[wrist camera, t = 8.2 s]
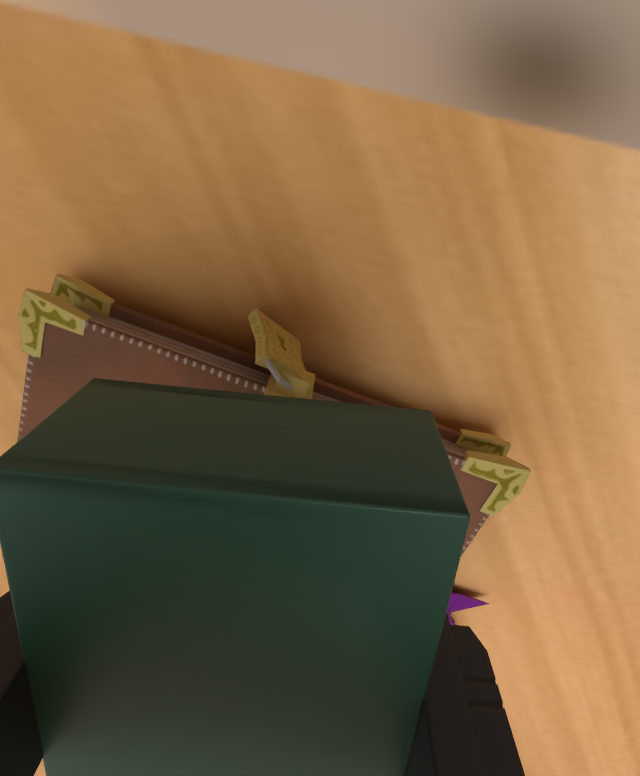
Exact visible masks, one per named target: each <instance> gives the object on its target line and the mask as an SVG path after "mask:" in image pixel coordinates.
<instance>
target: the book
mask: <svg viewBox="0 0 640 776" xmlns="http://www.w3.org/2000/svg"><path fill="white" fill-rule="evenodd" d="M248 319H249V322H250V325H251V329H252V332H253V335H254V338H255V341H256V355H253V354H250V353H248V352H245V351H242V350H240V349H237V348H234V347H231V346H229V345H226V344H223V343H221V342H218V341H215V340H213V339H210V338H207V337H205V336H202V335H199V334H196V333H194V332H191V331H188V330H186V329H183V328H180V327H178V326H175V325H172V324H170V323H167V322H164V321H162V320H159V319H156V318H153V317H151V316H148V315H145V314H143V313H140V312H137V311H135V310H132V309H129V308H127V307H124V306H121V305H119V304H116V303H115V300H114V299H112V298H111V297H109V296H107V295H106V294H104V293H102V292H101V291H99V290H98V289H96V288H94V287H93V286H91V285H89V284H88V283H86V282H85V281H82V280H78V279H75V278H71V277H67V276H64V275H60V274H57V275H56V276H55V279H54V283H53V287H52V290H51V294H49V293H45V292H41V291H37V290H33V289H29V288H28V289H26V290H25V293H24V296H23V300H22V304H21V307H20V311H19V322H20V332H21V342H22V352H24V353H27V354H29V357H28V365H27V372H26V380H25V388H24V395H23V403H22V410H21V418H20V426H19V433H18V441H19V440H21V439H22V438H23V437H24V436H25V435H27V434H28V433H29V432H30V431H31V430H33V429H34V428H35V427H36V426H37V425H38V424H40V423H41V422H42V421H43V420H44V419H46V418H47V417H48V416H49V415H50V414H51V413H53V412H54V411H55V410H56V409H57V408H59V407H60V406H61V405H62V404H63V403H65V402H66V401H67V400H68V399H69V398H70V397H72V396H73V395H74V394H75V393H76V392H78V391H79V390H80V389H81V388H82V387H83V386H85V385H86V384H87V383H88V382H89V381H91V380H92V379H94V378H98V379H108V380H118V381H129V382H139V383H149V384H160V385H170V386H180V387H191V388H201V389H211V390H222V391H232V392H242V393H253V394H263V395H273V396H283V397H294V398H304V399H314V400H325V401H335V402H345V403H356V404H366V405H376V406H387V407H393V406H390V405H387V404H385V403H382V402H379V401H377V400H374V399H371V398H369V397H366V396H363V395H360V394H358V393H355V392H352V391H350V390H347V389H344V388H342V387H339V386H336V385H334V384H331V383H328V382H326V381H323V380H320V379H317V378H315V375H316V374H313V373H311V372H308V371H306V369H305V366H304V364H303V361H302V357H301V348H300V340H299V339H297V338H296V337H294V336H293V335H292V334H290V333H289V332H288V331H286V330H285V329H284V328H282V327H281V326H280V325H278V324H277V323H276V322H274V321H273V320H271V319H270V318H269V317H267V316H266V315H265V314H263V313H262V312H261V311H259V310H258V309H257V308H256V309H255V310H254V311H253V312H252V313H251V314H249V315H248ZM436 425H437V427H438V430H439V433H440V435H441V438H442V441H443V443H444V446H445V449H446V451H447V454H448V457H449V459H450V462H451V465H452V467H453V470H454V473H455V476H456V478H457V481H458V484H459V486H460V489H461V492H462V494H463V497H464V500H465V502H466V505H467V508H468V510H469V513H470V520H469V524H468V528H467V532H466V536H465V540H464V544H463V548H462V552H461V555H462V554H463V552H464V551H465V550H466V548H467V547H468V545H469V544H470V542H471V541H472V539H473V538H474V537H475V535H476V534H477V532H478V531H479V529H480V528H481V526H482V525H483V524H484V522H485V521H486V519H487V518H488V516H489V515H491V516H495V515H496V514H497V513H499V512H500V511H501V510H502V509H503V508H504V507H505V506H506V505H508V504H509V503H510V502H511V501H512V500H513V499H514V498H515V497H516V496H518V495H519V494H520V492H521V490H522V488H523V486H524V484H525V482H526V480H527V478H528V476H529V474H530V472H531V470H530V469H529V468H528V467H526V466H524V465H522V464H520V463H518V462H516V461H514V460H512V459H510V458H508V457H506V455H507V453H508V451H509V449H510V447H511V444H510V443H509V442H506V441H504V440H502V439H500V438H498V437H496V436H494V435H492V434H488V433H482V432H476V431H470V430H465V429H460V430H459V431H457V430H455V429H452V428H449V427H446V426H444V425H441V424H438V423H436ZM18 441H17V442H18ZM460 557H461V556H460ZM485 604H489V603H486V602H483V601H480V600H477V599H474V598H471V597H469V596H466V595H463V594H460V593H454V592H451V596H450V600H449V604H448V608H447V613H448V618H449V622H450V625H455V624H454V622H453V621H452V619H451V617H450V615H449V613H450V612H454V611H459V610H463V609H467V608H472V607H476V606H481V605H485Z"/></svg>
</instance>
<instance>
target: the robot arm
mask: <svg viewBox="0 0 640 776" xmlns="http://www.w3.org/2000/svg"><path fill="white" fill-rule="evenodd" d="M502 703H503V702H502V699H501V695H500V692H499V689H498V685H497V684H496V683H495V675H494V672H493V669H492V666H491V662H490V659H489V656H488V652H487V650H486V649H485V648H484V646H483V645H482V643H481V642H480V641H479V639H478V638H477V637H476V635H475V634H474V633H473V631H472V630H471V628H470V627H468V626H458V625H450V622H449V618H448V613H447V612H446V616H445V620H444V624H443V628H442V632H441V636H440V640H439V644H438V648H437V652H436V656H435V660H434V664H433V668H432V672H431V676H430V680H429V684H428V688H427V692H426V696H425V700H424V701H423V705H422V709H421V713H420V717H419V721H418V725H417V729H416V733H415V737H414V741H413V745H412V749H411V753H410V757H409V761H408V765H407V769H406V773H405V776H525V774H524V771H523V768H522V764H521V761H520V758H519V755H518V751H517V748H516V745H515V741H514V738H513V735H512V731H511V728H510V725H509V722H508V718H507V715H506V712H505V708H503V706H502ZM43 756H44V755H43V749H42V744H41V739H40V734H39V729H38V724H37V719H36V714H35V709H34V704H33V699H32V693H31V688H30V683H29V678H28V673H27V668H26V663H25V661H24V659H23V654H22V649H21V644H20V639H19V634H18V629H17V624H16V619H15V614H14V609H13V604H12V599H11V594H10V591H9V592H7V593H6V594H4V595H3V596H2V597H0V776H34V774H35V772H36V770H37V768H38V766H39V764H40V762H41V760H42V758H43Z"/></svg>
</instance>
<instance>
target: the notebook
mask: <svg viewBox="0 0 640 776" xmlns="http://www.w3.org/2000/svg"><path fill="white" fill-rule="evenodd" d="M469 520H470V513H469V510H468V508H467V505H466V502H465V500H464V497H463V494H462V492H461V489H460V486H459V484H458V481H457V478H456V476H455V473H454V470H453V467H452V465H451V462H450V459H449V457H448V454H447V451H446V449H445V446H444V443H443V441H442V438H441V435H440V433H439V430H438V427H437V425H436V422H435V419H434V417H433V414H432V412H431V411H428V410H418V409H407V408H397V407H387V406H376V405H366V404H356V403H345V402H335V401H325V400H314V399H304V398H294V397H283V396H273V395H263V394H253V393H242V392H232V391H222V390H211V389H201V388H191V387H180V386H170V385H160V384H149V383H139V382H129V381H118V380H108V379H98V378H94V379H92V380H91V381H89V382H88V383H87V384H86V385H85V386H83V387H82V388H81V389H80V390H79V391H78V392H76V393H75V394H74V395H73V396H72V397H70V398H69V399H68V400H67V401H66V402H65V403H63V404H62V405H61V406H60V407H59V408H57V409H56V410H55V411H54V412H53V413H51V414H50V415H49V416H48V417H47V418H46V419H44V420H43V421H42V422H41V423H40V424H38V425H37V426H36V427H35V428H34V429H33V430H31V431H30V432H29V433H28V434H27V435H25V436H24V437H23V438H22V439H21V440H19V441H18V442H17V443H16V444H15V445H14V446H12V447H11V448H10V449H9V450H8V451H6V452H5V453H4V454H3V455H2V456H1V457H0V543H1V548H2V553H3V558H4V563H5V568H6V573H7V578H8V584H9V589H10V594H11V599H12V604H13V609H14V614H15V619H16V624H17V629H18V634H19V639H20V644H21V649H22V654H23V659H24V661H25V663H26V668H27V673H28V678H29V683H30V688H31V693H32V699H33V704H34V709H35V714H36V719H37V724H38V729H39V734H40V739H41V744H42V749H43V755H44V756H43V761H44V766H45V771H46V776H405V773H406V769H407V765H408V761H409V757H410V753H411V749H412V745H413V741H414V737H415V733H416V729H417V725H418V721H419V717H420V713H421V709H422V705H423V701H424V700H425V696H426V692H427V688H428V684H429V680H430V676H431V672H432V668H433V664H434V660H435V656H436V652H437V648H438V644H439V640H440V636H441V632H442V628H443V624H444V620H445V616H446V612H447V608H448V604H449V600H450V596H451V592H452V588H453V584H454V580H455V576H456V572H457V568H458V564H459V560H460V556H461V552H462V548H463V544H464V540H465V536H466V532H467V528H468V524H469Z"/></svg>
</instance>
